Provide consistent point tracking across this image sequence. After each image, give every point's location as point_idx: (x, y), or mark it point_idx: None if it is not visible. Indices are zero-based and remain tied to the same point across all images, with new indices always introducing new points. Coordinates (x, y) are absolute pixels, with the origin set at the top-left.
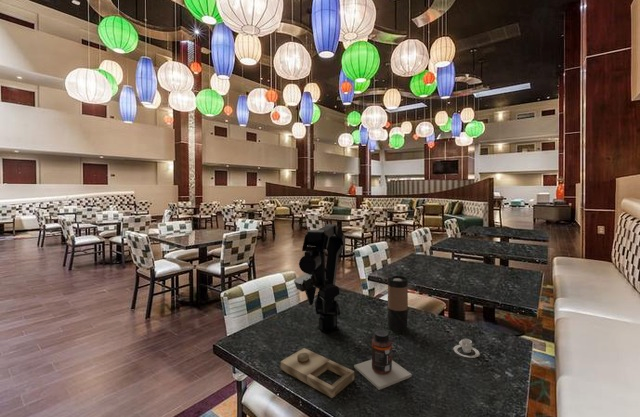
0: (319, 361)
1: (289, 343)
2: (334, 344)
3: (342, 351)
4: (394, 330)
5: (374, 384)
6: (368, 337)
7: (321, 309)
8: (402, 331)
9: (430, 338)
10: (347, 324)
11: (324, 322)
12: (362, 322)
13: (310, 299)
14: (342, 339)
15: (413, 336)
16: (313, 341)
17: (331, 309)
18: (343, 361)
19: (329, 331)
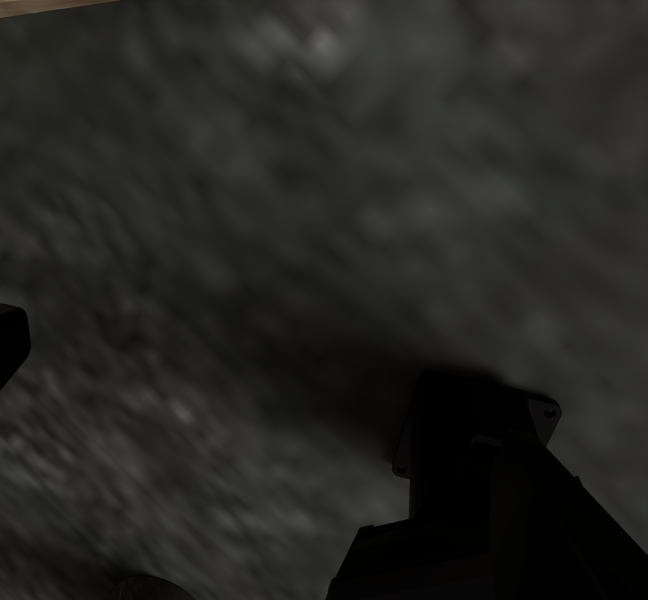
0: None
1: (595, 9)
2: (262, 285)
3: (155, 249)
4: (136, 583)
5: None
6: (184, 472)
7: (479, 521)
8: (112, 591)
9: (9, 591)
10: None
11: (460, 432)
12: None
13: (532, 543)
14: (274, 370)
15: (60, 577)
16: (420, 211)
17: (353, 559)
18: (52, 154)
19: (413, 395)
